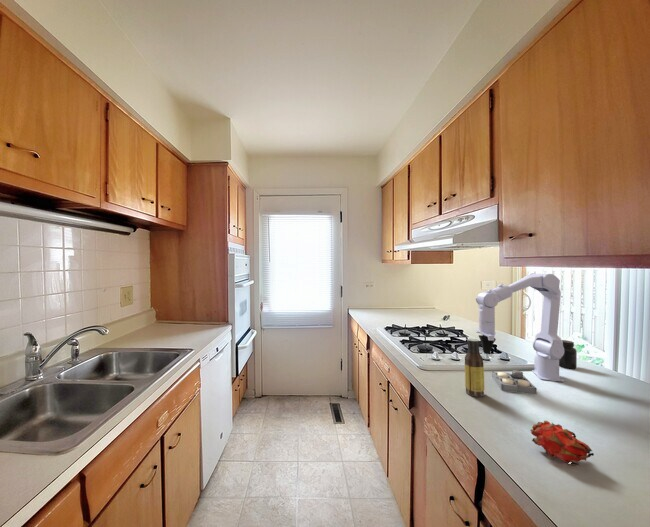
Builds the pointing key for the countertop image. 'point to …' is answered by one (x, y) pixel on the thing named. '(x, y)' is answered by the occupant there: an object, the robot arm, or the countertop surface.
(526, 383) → the button front left
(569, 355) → the supplement bottle
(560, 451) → the dragon fruit
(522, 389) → the button board
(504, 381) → the button front right
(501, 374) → the button back right
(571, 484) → the countertop surface
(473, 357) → the sauce bottle
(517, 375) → the button back left charcoal
